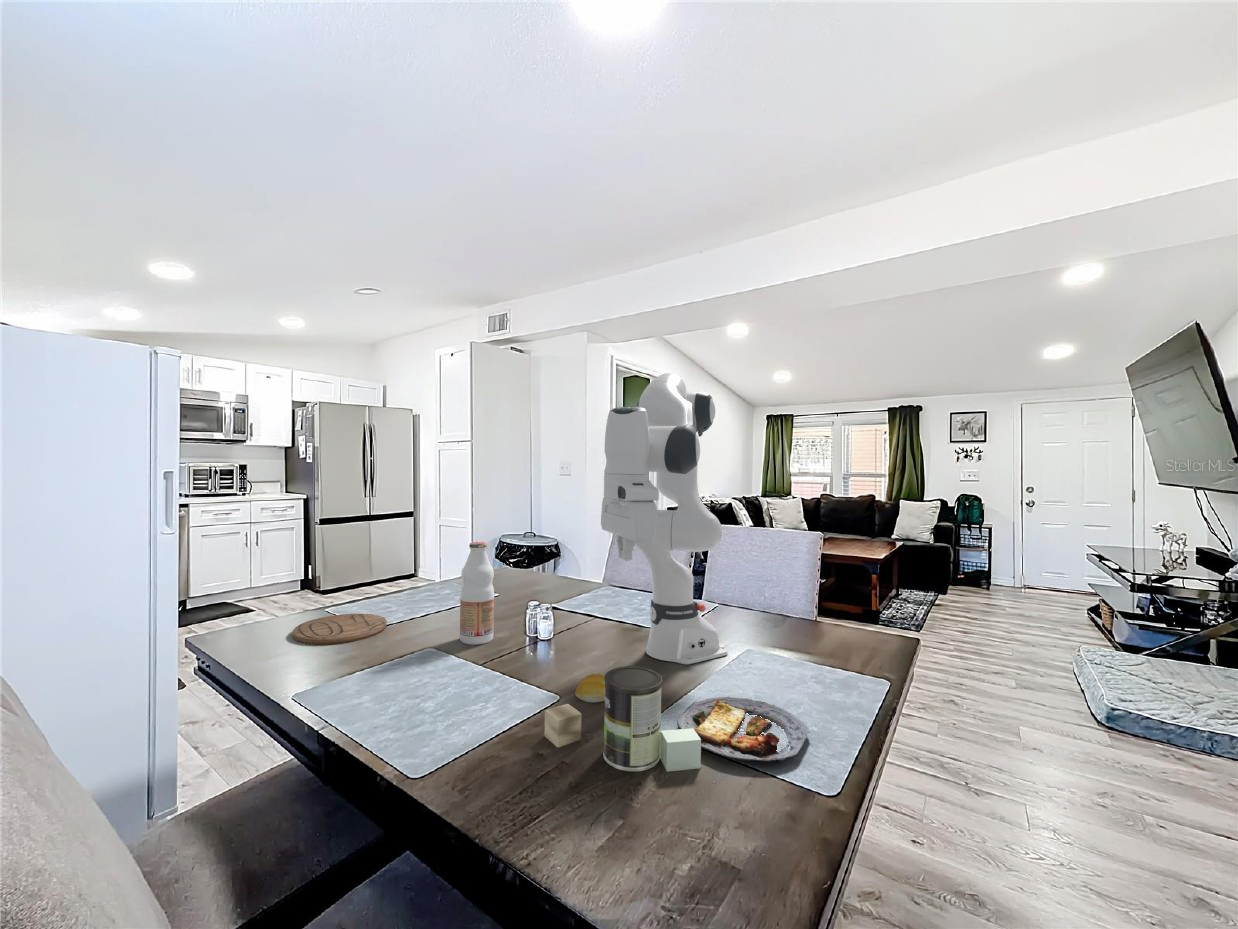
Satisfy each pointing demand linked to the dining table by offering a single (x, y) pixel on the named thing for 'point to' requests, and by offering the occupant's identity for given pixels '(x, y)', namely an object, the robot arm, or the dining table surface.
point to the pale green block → (680, 749)
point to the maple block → (562, 725)
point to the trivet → (339, 629)
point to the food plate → (725, 717)
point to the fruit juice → (477, 597)
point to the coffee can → (632, 718)
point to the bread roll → (591, 688)
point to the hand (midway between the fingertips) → (625, 559)
